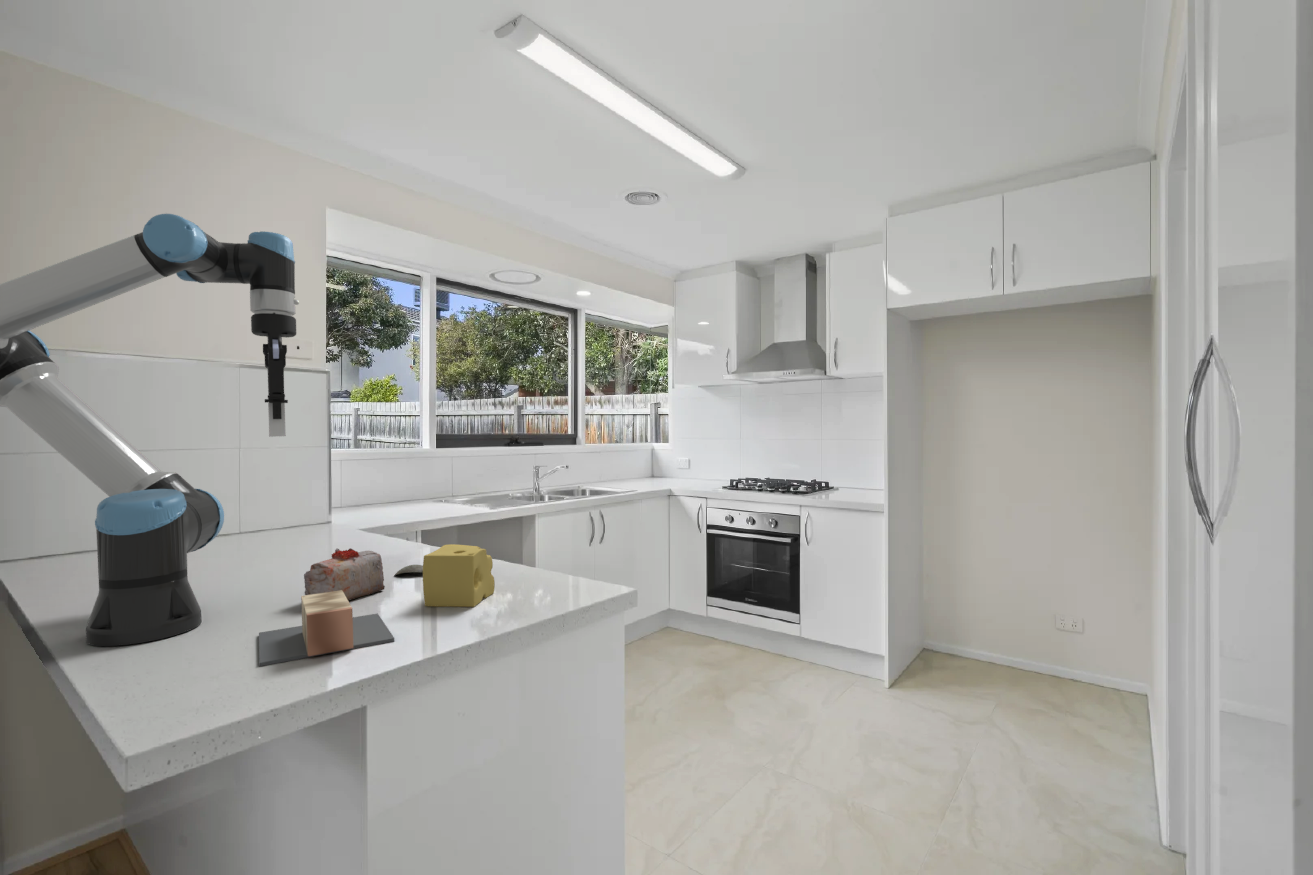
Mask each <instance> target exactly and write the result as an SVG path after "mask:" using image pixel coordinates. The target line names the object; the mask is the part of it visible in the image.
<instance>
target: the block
mask: <svg viewBox="0 0 1313 875" xmlns="http://www.w3.org/2000/svg"><path fill="white" fill-rule="evenodd" d="M353 615H354V614H353V607H352V605H351V604H350V601H349V600H347V598H346V596H345V594H344V593H343V591H342V590H340V591H333V592H326V593H319V594H311V595H305V594H304V595H301V626H302V633H303V637H304V641H305V645H306V650H307V654H308V656H313V655H318V654H323V655H325V654H324V653H329V652H334V653H336V652H335V651H339V652H341V651H340V650H345V649H350V650H352V649H351V648H353V617H354V616H353ZM345 651H346V650H345ZM329 654H330V653H329ZM318 656H319V655H318ZM313 657H314V656H313Z"/></svg>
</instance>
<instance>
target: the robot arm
mask: <svg viewBox="0 0 1313 875" xmlns="http://www.w3.org/2000/svg"><path fill="white" fill-rule="evenodd" d="M294 253H295V252H294V245H293V241H292V240H291V239H290V237H288V236H287V235H285V234H282V233H281V234H280V233H277V232H273V231H261V230H260V231H253V232H251V233H250V234H249V235H248V240H247V242H246V243H245V242H242V243H238V242H237V243H233V242H221V241H218V240H216V238H214V237H212V236H211V235H209V234H208V233H206V232H205V231H203V229H201V227H199V225H197V224H196V223H194V222H192V221H190V220H188V219H186V218H184V217H183V216H180V215H178V214H174V213H161V214H156V215H154V216H152V217H150V218H149V220H148V221H147V222H146V224H144V226H143V229H142V232H138V233H136V234H134V235H131V236H128V237H126V238H122V239H120V240H117V241H115V242H112V243H109V244H106V245H103V246H101V247H100V246H99V247H98V248H96V249H93V250H89V251H87V252H84V253H81V254H79V255H76V256H74V257H70V258H67V259H65V260H62V261H60V262H57V263H54V264H52V265H48V266H46V267H44V268H41V269H38V270H34V271H32V272H29V273H27V274H24V275H21V276H18V277H16V278H14V279H10V280H8V281H4V282H2V283H0V408H7V409H8V410H9V411H10V412H11V413H12V414H14V415H15V416H16V417H17V418H18V419H20V421H22V422H23V424H25V425H26V426H27V427H28V428H29V429H31V430H32V431H33V432H34V433H35V434H37V435H38V436H39V437H40V438H42V440H43V441H45V443H47V444H48V445H49V446H50V447H51V448H53V449H54V450H55V451H56V452H57V453H58V454H60V455H61V456H62V457H63V458H64V459H66V460H67V461H68V462H69V463H70V464H71V465H72V466H73V467H75V468H76V469H77V470H78V471H79V472H80V473H81V474H83V475H84V476H85V477H86V478H87V479H88V480H90V481H91V483H93V484H94V485H96V487H97V488H99V489H100V490H101V491H102V492H104V493H105V494H106V495H107V496H108V497H106V498H104V499H102V500H101V501H100V502H99V503H98V505H97V507H96V515H95V516H96V518H95V519H94V525H95V526H94V527H95V530H96V531H95V532H96V549H97V550H96V551H97V572H98V575H97V576H98V577H97V578H98V593H97V597H96V599H95V601H94V602H95V603H94V605H93V608H92V610H91V613H90V616H89V618H88V621H87V624H86V626H85V642H86V643H87V644H88V645H91V646H97V647H113V646H114V647H116V646H126V645H135V644H142V643H147V642H153V641H157V640H161V639H166V638H170V637H174V636H177V635H181V634H182V633H183V634H184V633H186V632H188V631H191V630H193V629H195V628H197V627H199V626H200V625H201V624H202V609H201V606H200V604H199V602H198V600H197V597H196V594H195V593H194V591H193V589H192V587H191V584H190V582H189V577H188V554H189V553H192V552H195V551H198V550H200V549H202V548H204V547H206V546H207V545H208V544H209V543H211V541H213V540H214V539H216V537H218V535H219V534H220V532H221V530H222V528H223V525H224V522H225V511H224V507H223V505H222V503H221V502H220V501H219V499H218V498H217V497H216V496H215V495H214V494H212V493H211V492H209V491H206V490H203V489H201V488H194V487H193V486H192V485H191V484H190V483H189V482H188V481H187V480H185V479H184V478H183V476H181V475H180V474H179V473H177V472H174V471H162V470H161V469H159V468H158V467H157V466H156V465H155V464H154V463H153V462H152V461H151V460H150V459H148V458H147V457H146V456H145V455H144V454H143V453H142V452H140V450H138V449H137V448H136V446H134V445H133V444H132V443H131V442H129V441H128V439H126V438H125V437H124V436H123V435H122V434H121V433H119V432H118V430H116V429H115V428H114V427H113V426H112V425H110V423H109V422H107V421H106V420H105V419H104V418H103V417H102V416H100V415H99V414H98V413H97V412H96V411H95V410H94V409H92V408H91V407H90V406H89V405H88V404H87V403H86V402H85V401H84V400H83V399H81V398H80V397H79V396H78V395H77V394H76V393H75V392H74V391H73V390H72V389H70V388H69V387H68V386H67V385H66V384H65V383H64V382H63V381H62V380H60V379H59V378H58V376H59V372H60V367H59V365H58V364H57V363H56V362H54V361H53V360H52V359H51V357H50V356H51V355H50V351H49V348H48V346H47V345H46V344H45V342H44V341H43V339H42V338H41V337H39V336H38V335H36V333H34V332H32V331H31V330H33V329H36V328H39V327H41V326H44V325H46V324H49V323H51V322H53V321H57V320H59V319H62V318H65V317H67V316H70V315H72V314H75V313H77V312H80V311H82V310H84V309H87V308H89V307H92V306H95V305H97V304H100V303H102V302H105V301H109V300H110V299H113V298H116V297H119V296H120V295H123V294H125V293H128V292H130V291H133V290H136V289H138V288H140V287H143V286H146V285H148V284H150V283H154V282H156V281H158V280H162V279H163V278H167V277H170V276H172V275H175V274H176V276H177V277H178V279H180V280H182V281H184V282H194V283H199V284H206V283H214V284H219V283H220V284H244V285H247V284H249V305H250V306H249V308H250V312H251V313H253V314H252V315H251V317H250V323H251V324H250V327H251V328H250V330H251V333H252V335H255V336H258V337H266V338H267V343H263V344H262V353H263V355H264V367H265V368H266V369H267V389H268V390H267V391H268V395H267V398H265V399H264V403H268V408H267V410H268V436H269V437H270V438H273V437H286V433H287V432H286V408H285V407H286V406H285V404H288V403H289V400H288V399H286V398H285V397H286V393H285V372H284V371H285V368H286V367H287V366H286V365H287V362H286V361H287V360H286V357H287V356H286V355H287V353H288V344H283V340H282V339H283V338H287V339H288V338H294V337H295V336H297V318H295V317H294V316H295V315H296V305H297V306H298V305H299V304H300V301H299V300H298V299H295V298H296V288H295V287H296V286H295V282H296V279H295V277H296V276H295V275H296V274H295V272H296V271H295V270H296V269H295V264H296V261H295V254H294Z"/></svg>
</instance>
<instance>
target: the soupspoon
mask: <svg viewBox="0 0 1313 875" xmlns="http://www.w3.org/2000/svg"><path fill="white" fill-rule="evenodd" d="M406 573H420V574H423V564H410V565H407V566H404V567H402V568H400V569H399V570H398V571H397V572H396V573H395V574H394V576H393V577H395V576H398V575H401V574H406Z"/></svg>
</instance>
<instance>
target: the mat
mask: <svg viewBox="0 0 1313 875" xmlns="http://www.w3.org/2000/svg"><path fill="white" fill-rule="evenodd" d="M392 642H395V636H393V634H392V632H391V631H390V630H389V628H388V626H387V625H386V623H385V622H384V621H383V619H382V618H381V616H380V614H379V613H371V614H366V615H359V616H353V648H351V649H345V650H340V651H335V652H329V653H324V654H318V655H313V656H308V654H307V650H306V645H305V641H304V637H303V633H302V625H299V626H291V627H284V628H279V629H273V630H267V631H261V632H258V650H259V651H258V654H259V655H258V656H259V667H265V666H269V665H274V664H279V663H285V662H290V661H296V660H301V659H302V660H303V659H307V658H312V657H317V656H324V655H327V654H333V653H339V652H345V651H349V650H354V649H355V650H356V649H360V648H367V647H371V646H376V645H381V644H387V643H392Z"/></svg>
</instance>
